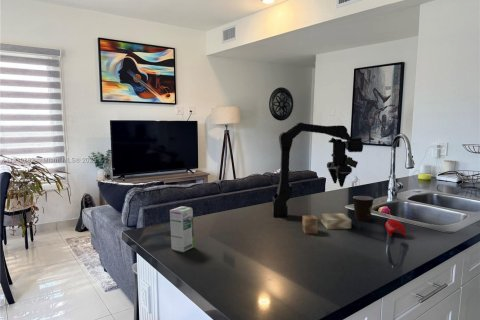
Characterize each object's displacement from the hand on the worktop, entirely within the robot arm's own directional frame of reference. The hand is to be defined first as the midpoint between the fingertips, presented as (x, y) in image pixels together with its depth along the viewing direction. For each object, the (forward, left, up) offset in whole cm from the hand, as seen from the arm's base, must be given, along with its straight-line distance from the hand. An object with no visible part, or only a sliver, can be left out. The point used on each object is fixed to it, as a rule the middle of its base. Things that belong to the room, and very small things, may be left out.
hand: (338, 185), depth 155 cm
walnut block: (-19, -24, -15) cm, 33 cm away
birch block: (-6, -16, -15) cm, 22 cm away
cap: (+13, -30, -15) cm, 35 cm away
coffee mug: (+10, -8, -15) cm, 19 cm away
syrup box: (-68, -40, -15) cm, 80 cm away
